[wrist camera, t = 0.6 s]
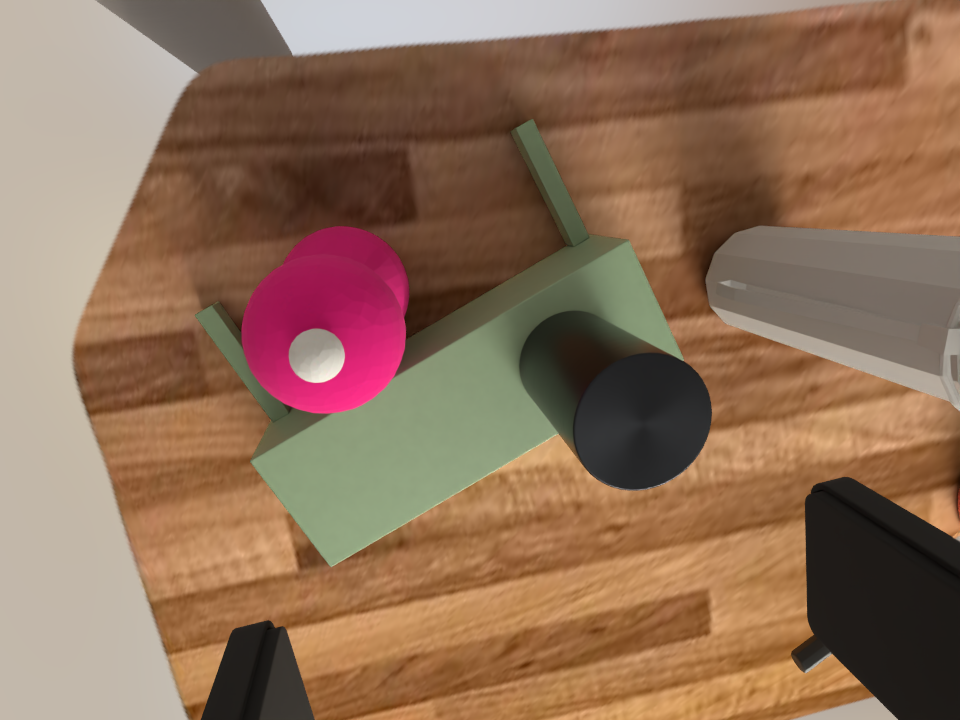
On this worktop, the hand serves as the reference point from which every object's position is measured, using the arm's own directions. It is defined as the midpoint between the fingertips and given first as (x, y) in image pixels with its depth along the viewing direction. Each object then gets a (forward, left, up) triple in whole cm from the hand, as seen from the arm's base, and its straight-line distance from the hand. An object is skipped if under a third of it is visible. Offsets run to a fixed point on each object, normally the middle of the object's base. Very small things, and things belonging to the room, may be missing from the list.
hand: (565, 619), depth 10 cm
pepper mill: (-4, -3, -30) cm, 31 cm away
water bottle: (+9, +20, -30) cm, 37 cm away
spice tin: (+5, +6, -23) cm, 24 cm away
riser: (+1, 0, -30) cm, 30 cm away
